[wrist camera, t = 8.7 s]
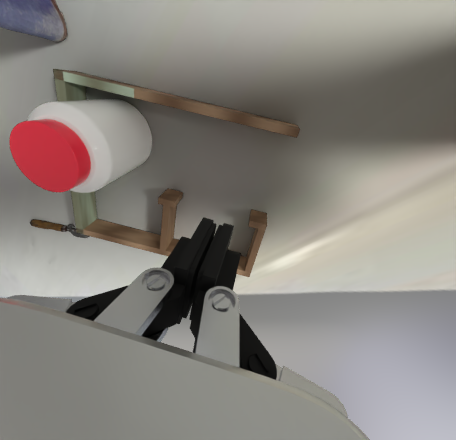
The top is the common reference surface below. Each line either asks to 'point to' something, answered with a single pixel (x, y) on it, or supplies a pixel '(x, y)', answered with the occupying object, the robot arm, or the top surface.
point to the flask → (33, 18)
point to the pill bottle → (80, 144)
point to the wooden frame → (164, 244)
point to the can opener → (56, 227)
